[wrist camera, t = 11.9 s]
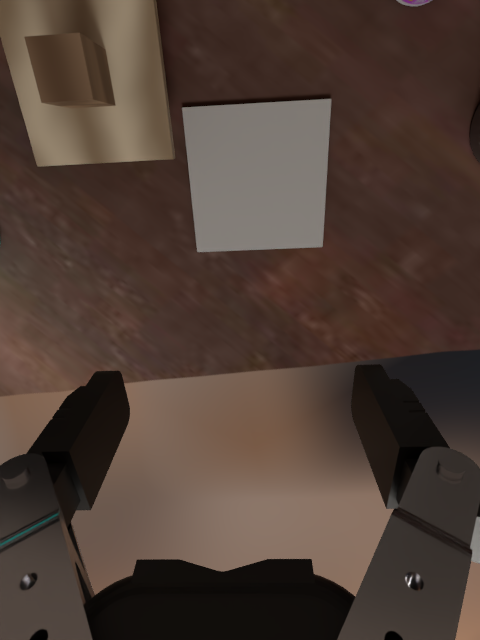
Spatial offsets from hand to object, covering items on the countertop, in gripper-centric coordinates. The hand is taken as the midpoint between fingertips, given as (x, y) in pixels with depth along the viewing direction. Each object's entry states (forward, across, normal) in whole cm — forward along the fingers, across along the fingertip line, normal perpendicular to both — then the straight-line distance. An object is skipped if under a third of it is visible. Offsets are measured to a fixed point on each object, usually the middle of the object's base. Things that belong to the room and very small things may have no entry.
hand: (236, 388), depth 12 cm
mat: (+32, -2, -4) cm, 32 cm away
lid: (+27, +13, -13) cm, 33 cm away
